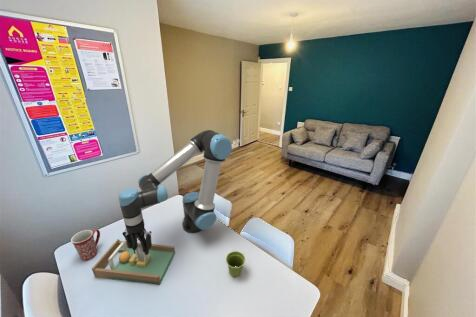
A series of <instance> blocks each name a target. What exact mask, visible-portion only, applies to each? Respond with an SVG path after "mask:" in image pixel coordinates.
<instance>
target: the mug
mask: <svg viewBox="0 0 476 317" xmlns="http://www.w3.org/2000/svg"><path fill="white" fill-rule="evenodd" d="M95 233H96V238H95V237H94V235H95ZM100 238H101V232H100V229H97V228H95V229H93V230H91V229H84V230H81V231H79V232H76V233H75V234H74V235H73V236H72V237H71V239H70V241H71V243H72V245H73V246H74V248H75V250H76V252H77V254H78V256H79V257H80V259H81V261H90V260H92V259H93V258H95V257H96V256H97V254H98V249H97V248H98V244H99V241H100Z"/></svg>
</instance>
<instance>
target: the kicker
mask: <svg viewBox="0 0 476 317" xmlns="http://www.w3.org/2000/svg"><path fill="white" fill-rule="evenodd" d="M139 243H140V242H139ZM137 250H138V254H139V258H140V259H139V260H137V258H136V254H133V256H132V257H131V258H130V260H129V263H130V265H134V264H135V263H136V265H137V267H144V268H145V266H146V264H147V263H148V261H149V260H150V258H151V256H150V254H148V258H147V260H146V261H144V257H143V253H142V250H143V248H142V245H141V243H140V244H138V245H137Z"/></svg>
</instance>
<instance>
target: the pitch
mask: <svg viewBox="0 0 476 317" xmlns="http://www.w3.org/2000/svg"><path fill="white" fill-rule="evenodd" d="M137 244H140V242H137ZM151 244H152V246H151V248H150V249H149V253H148V254H150V256H151V258H150V260H149V261H148V263H147V264H146V266H145V268H144V267H137V265H136V263H135V264H134V265H130V263H129V260H130V259H129V260H128V261H126V262H121V261H120V260H119V262H117V265H115V264H114V259H113V258H115V256H116V255H117V254H118V253H120V254H121V253H122V252H125V251H127V252H129V253H130V258H131V257H132V256H133V254H134V250H133V249H132V248H131V249H129V248H128V245H127V242H126V240H120V239H116V240H115V242H114V243H112V245H111V246H110V247H109V248H108V249H107V251H106V252H105V253H104V254H103V255H102V256H101V257H100V258H99V260H98V261H97V262H96V263H95V264H94V265H93V266H92V267H91V271H92V273H93V275H94V278H98V279H106V280H107V279H108V280H116V281H121V282H122V281H123V282H124V281H125V282H131V283H132V282H133V283H140V284H147V285H149V284H150V285H158V286H159V285H161V284H162V281H163V279H164V277H165V274H166V273H167V271H168V269H169V266H170V265H171V263H172V260H173V258H174V256H175V255H176V249H175V245H165V244H153V243H151ZM108 265H109V268H106V267H107V266H108Z"/></svg>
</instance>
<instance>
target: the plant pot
mask: <svg viewBox="0 0 476 317" xmlns="http://www.w3.org/2000/svg"><path fill="white" fill-rule="evenodd" d="M225 263H226V264H227V268H228V274H230V276H231V277H233V278H237V277H240V276H241V274H242V270H243V267H244V265H245V264H246V256H245V255H244V254H243V252H241V251H237V250H235V251H231V252H229V253H228V254H227V255H226V257H225ZM235 266H236V267H235Z"/></svg>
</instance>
